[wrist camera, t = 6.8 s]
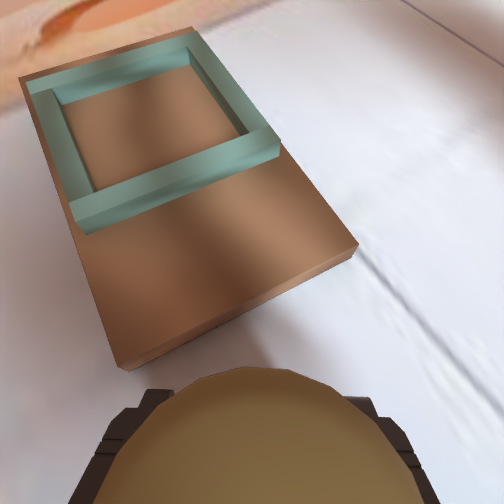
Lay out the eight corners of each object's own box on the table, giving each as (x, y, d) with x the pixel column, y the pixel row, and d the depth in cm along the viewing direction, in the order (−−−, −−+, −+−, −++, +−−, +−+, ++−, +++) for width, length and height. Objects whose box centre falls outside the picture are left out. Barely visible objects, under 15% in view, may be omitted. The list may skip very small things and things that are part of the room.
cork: (199, 378, 15) (111, 284, 5) (337, 410, 15) (513, 369, 5) (152, 552, 13) (-188, 981, 3) (319, 598, 12) (635, 1343, 2)
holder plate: (194, 47, 26) (189, 7, 24) (350, 258, 18) (366, 231, 16) (31, 97, 23) (6, 60, 21) (128, 372, 15) (106, 361, 13)
